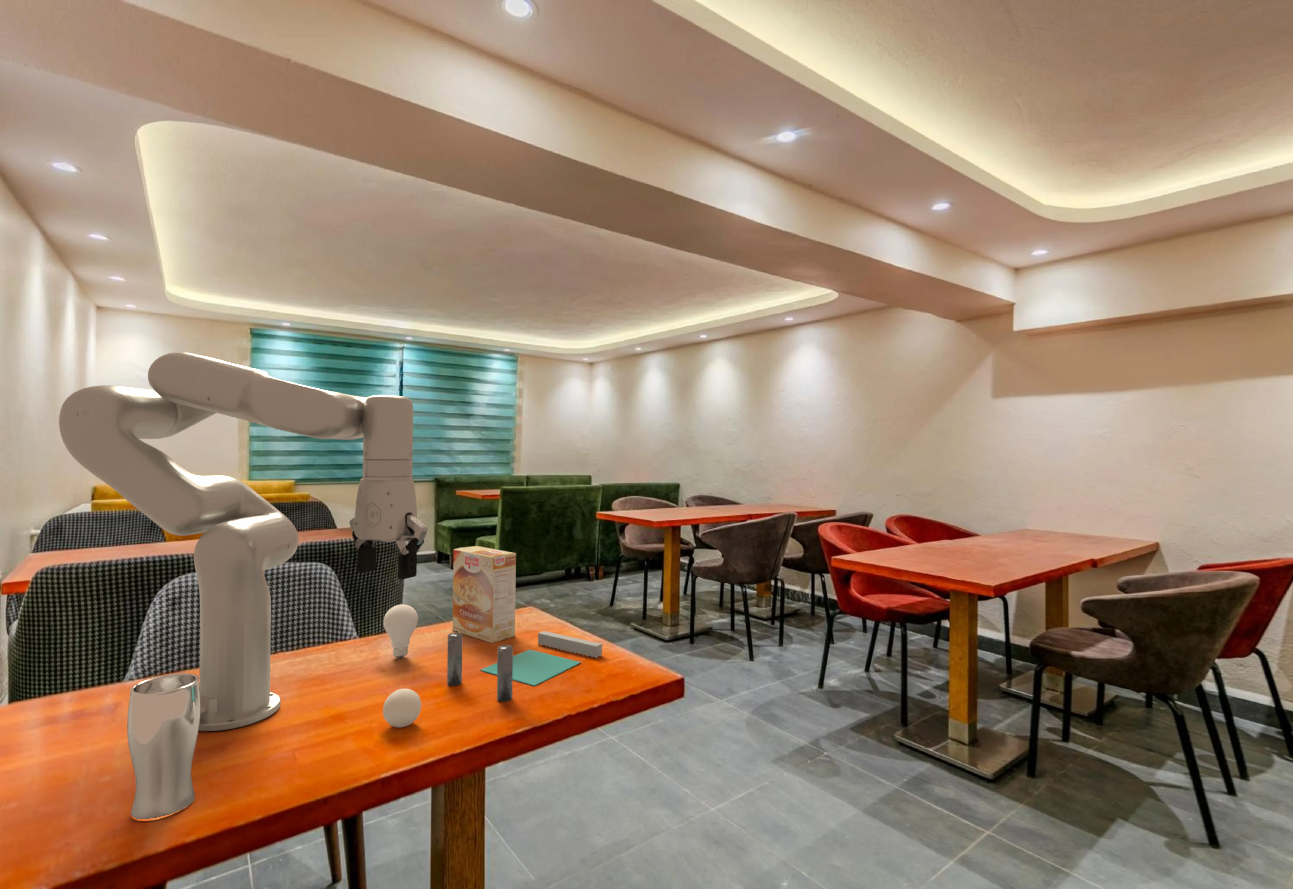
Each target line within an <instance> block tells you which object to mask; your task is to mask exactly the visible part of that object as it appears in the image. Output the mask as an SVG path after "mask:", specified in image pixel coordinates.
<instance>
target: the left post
mask: <svg viewBox="0 0 1293 889" xmlns="http://www.w3.org/2000/svg"><path fill="white" fill-rule="evenodd" d="M446 659H447V663H446V664H447V667H446V668H447V671H446V672H447V674H446V685H447V686H450V687H455V686H459V685H461V684H462V683H463V634H462V633H459V632H450V633H449V634H447V658H446Z"/></svg>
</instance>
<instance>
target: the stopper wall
mask: <svg viewBox="0 0 1293 889" xmlns="http://www.w3.org/2000/svg"><path fill="white" fill-rule="evenodd" d="M538 644H542V645H541V646H543V645H545V646H544V647H547V646H548V647H547V648H551V647H553V648H552V649H555V648H557V649H556V650H559V649H560V651H564V650H565V651H564V652H568V651H569V652H568V653H572V652H573V653H572V654H576V653H578V654H577V655H580V654H582V655H581V656H584V655H586V656H585V657H589V656H591V657H590V658H593V657H595V658H594V659H598V658H600V657H602V656H603V643H601V642H596V641H592V640H587V639H583V638H577V637H574V636H568V635H564V634H560V633H555V632H551V631H546V630H543V631H540V632H538V633H537V645H538ZM601 655H602V656H601ZM599 656H600V657H599ZM597 657H598V658H597Z"/></svg>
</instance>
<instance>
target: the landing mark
mask: <svg viewBox="0 0 1293 889" xmlns="http://www.w3.org/2000/svg"><path fill="white" fill-rule="evenodd" d="M579 663H580V664H582V661H577V660H574V659H569V658H565V657H561V656H557V655H552V654H549V653H545V652H542V651H537V650H532V649H527V650H524V651H522V652H520V653H518V654H514V655H513V680H512V681H515V682H519V683H522V684H524V685H530V686H532V687H535V686H538V685H540V684H541V683H542V684H543V683H544V682H546V681H548V680H550V679H552V678H554V677H556V676H557V675H560V674H562V673H565V672H566V671H567V669H568V670H570V669H572V668H574V667H576V666H578V665H580V664H579ZM577 664H578V665H577ZM573 666H574V667H573ZM571 667H572V668H571ZM480 671H481V672H484V673H487V674H490V675H494V676H497V662H495V663H493V664H490V665H488V666H485V667H484V668H481V669H480Z"/></svg>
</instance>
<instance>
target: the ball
mask: <svg viewBox="0 0 1293 889" xmlns="http://www.w3.org/2000/svg"><path fill="white" fill-rule="evenodd" d="M421 711H422V701H421V698H420V696H419V693H417V692H416V691H415V690H412V689H410V688H400V689H396V690H395V691H393V692H392V693H390V694H389V695H388V696H387V698H386V699H385V701H384V703H383V707H382V716H383V718H384V720H385V722H386V723H388V725H390V726H392V727H394V728H406V727H408V726H410V725H411V724H413V723H414V722H415V721H416V720H417V718H418V717H419V715H420V714H421Z"/></svg>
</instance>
